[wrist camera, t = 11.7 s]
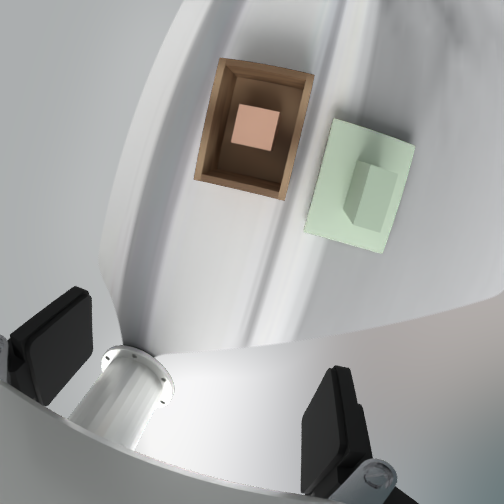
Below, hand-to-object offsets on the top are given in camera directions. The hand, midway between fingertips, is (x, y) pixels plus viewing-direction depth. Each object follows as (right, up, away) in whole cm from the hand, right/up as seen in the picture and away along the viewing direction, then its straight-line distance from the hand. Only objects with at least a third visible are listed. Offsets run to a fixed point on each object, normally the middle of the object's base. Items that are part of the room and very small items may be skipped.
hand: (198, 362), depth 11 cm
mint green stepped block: (+13, +11, +20) cm, 26 cm away
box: (+3, +16, +19) cm, 25 cm away
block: (+3, +16, +18) cm, 24 cm away
